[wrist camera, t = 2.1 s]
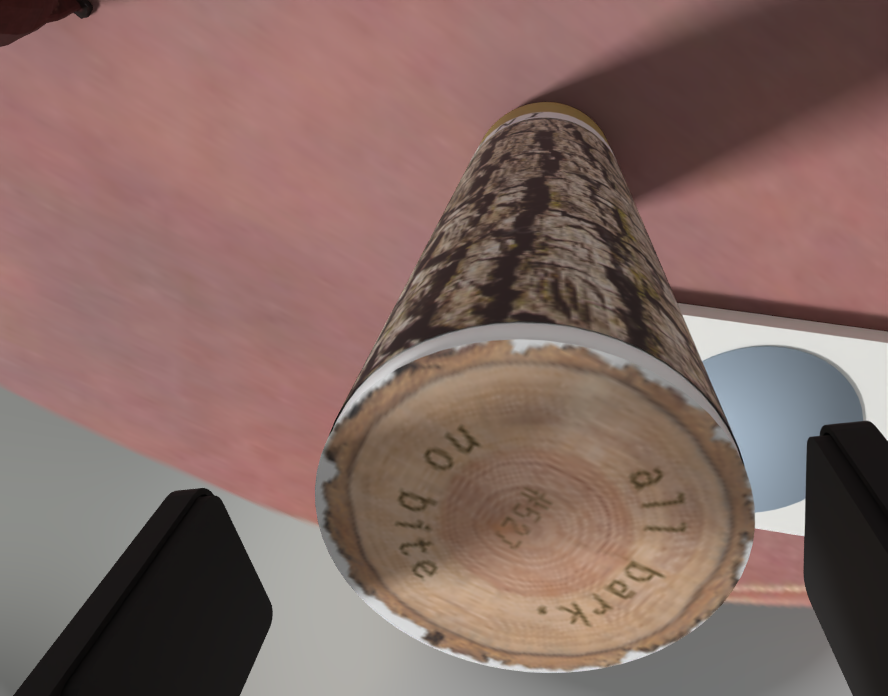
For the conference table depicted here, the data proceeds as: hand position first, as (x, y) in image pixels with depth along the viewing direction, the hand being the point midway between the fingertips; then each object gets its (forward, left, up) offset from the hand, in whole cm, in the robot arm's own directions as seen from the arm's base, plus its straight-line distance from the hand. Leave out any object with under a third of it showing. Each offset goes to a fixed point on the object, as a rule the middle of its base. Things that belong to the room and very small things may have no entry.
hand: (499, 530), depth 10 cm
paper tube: (0, 0, -25) cm, 25 cm away
